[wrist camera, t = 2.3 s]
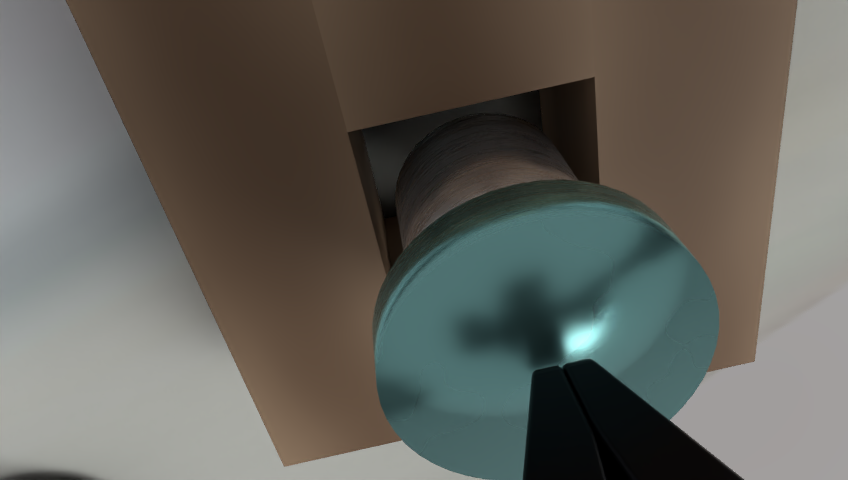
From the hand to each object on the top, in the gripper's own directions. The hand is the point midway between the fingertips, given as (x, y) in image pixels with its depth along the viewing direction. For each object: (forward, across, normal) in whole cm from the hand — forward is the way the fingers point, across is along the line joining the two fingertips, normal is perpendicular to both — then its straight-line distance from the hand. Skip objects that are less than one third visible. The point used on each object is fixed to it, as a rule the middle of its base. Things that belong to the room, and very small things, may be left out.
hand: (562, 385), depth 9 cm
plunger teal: (+6, 0, 0) cm, 6 cm away
